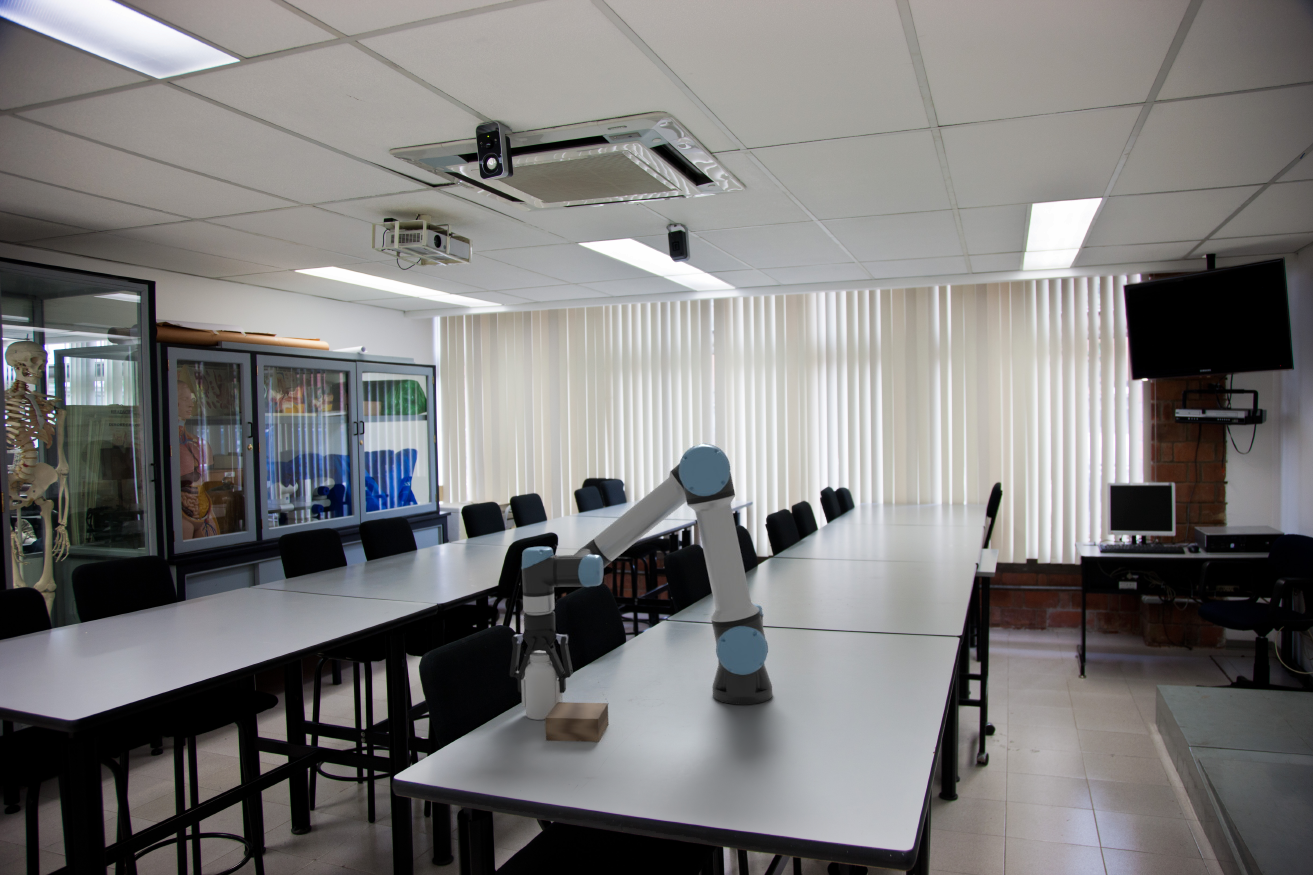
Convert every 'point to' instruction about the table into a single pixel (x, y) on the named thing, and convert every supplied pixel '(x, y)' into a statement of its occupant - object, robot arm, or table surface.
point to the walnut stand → (576, 722)
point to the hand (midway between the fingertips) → (542, 705)
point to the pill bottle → (540, 686)
